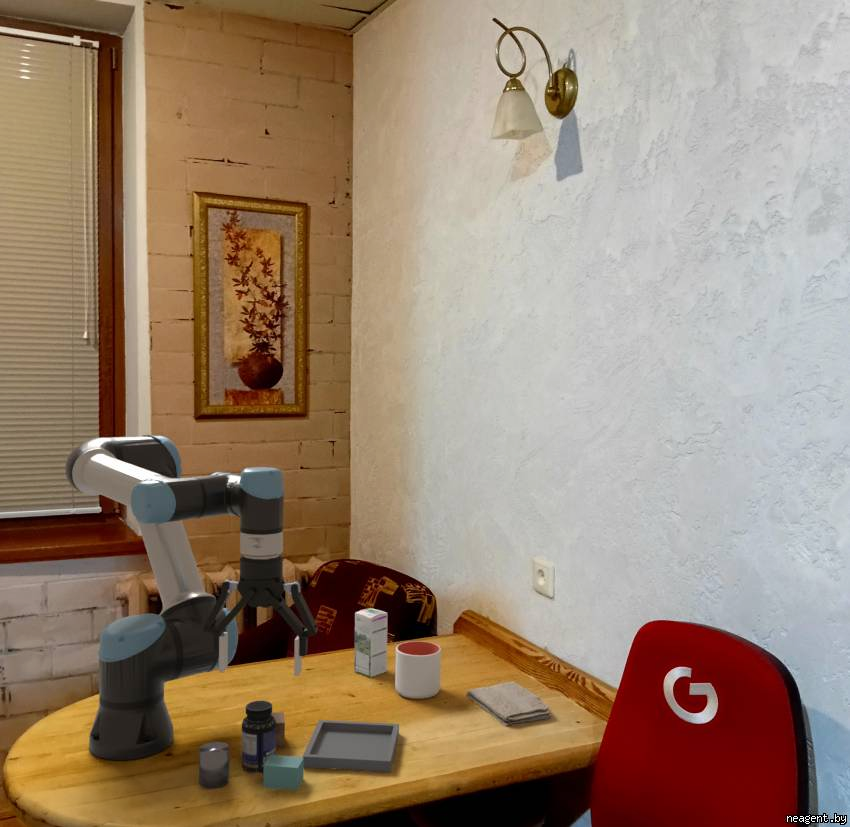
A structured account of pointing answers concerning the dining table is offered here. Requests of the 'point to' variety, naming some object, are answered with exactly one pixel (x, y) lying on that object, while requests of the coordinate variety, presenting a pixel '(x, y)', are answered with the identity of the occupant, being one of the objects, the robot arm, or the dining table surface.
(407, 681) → the cup
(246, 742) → the pill bottle
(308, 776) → the dining table surface
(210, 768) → the metal cylinder
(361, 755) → the tray
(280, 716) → the walnut cube
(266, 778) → the teal block
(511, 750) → the dining table surface
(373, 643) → the syrup box
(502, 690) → the washcloth
